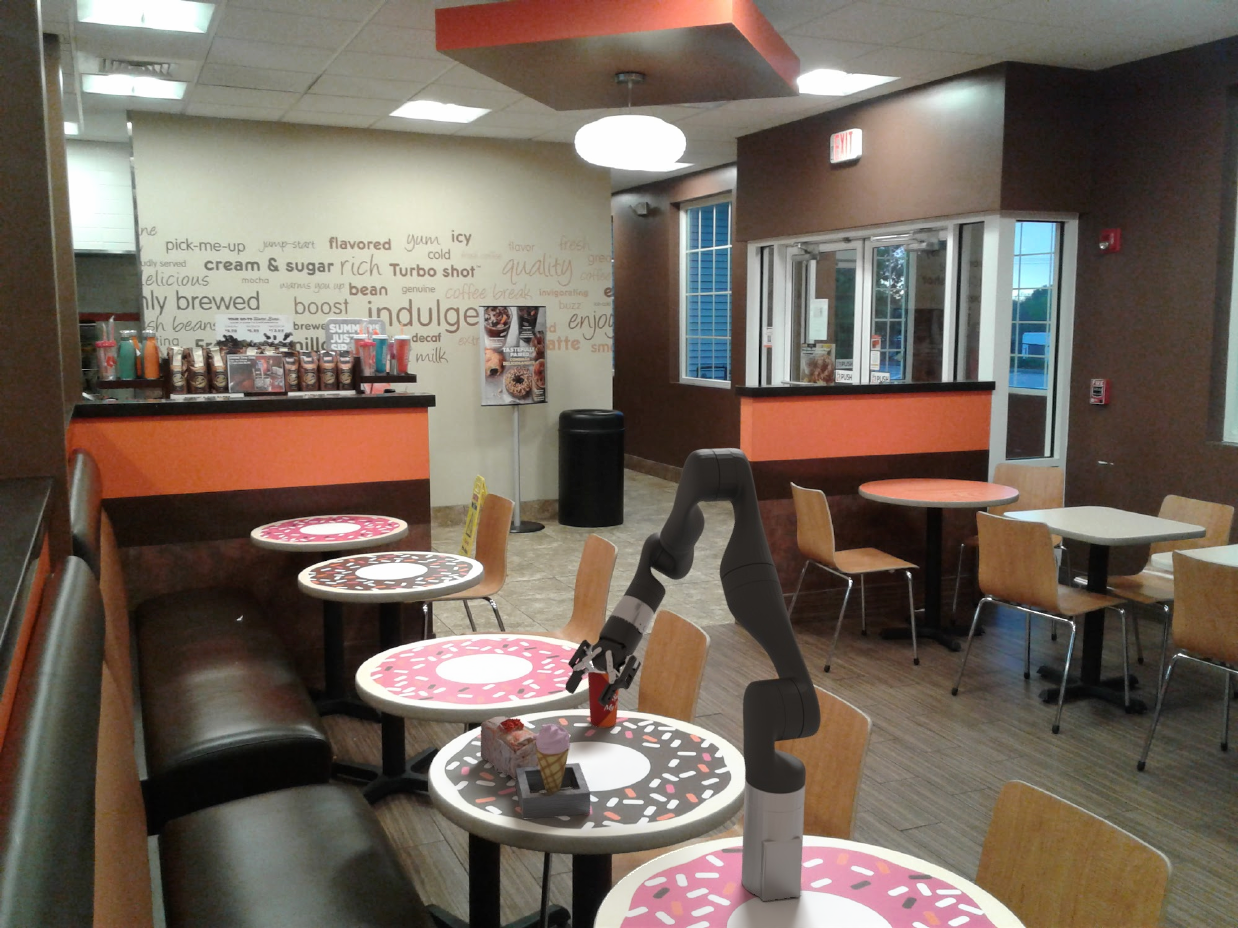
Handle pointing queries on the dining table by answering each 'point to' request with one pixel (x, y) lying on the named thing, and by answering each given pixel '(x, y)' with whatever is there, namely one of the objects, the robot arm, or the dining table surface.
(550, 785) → the ice cream cone
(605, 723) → the paper cup
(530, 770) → the hollow square frame
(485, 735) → the food item
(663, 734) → the dining table surface
